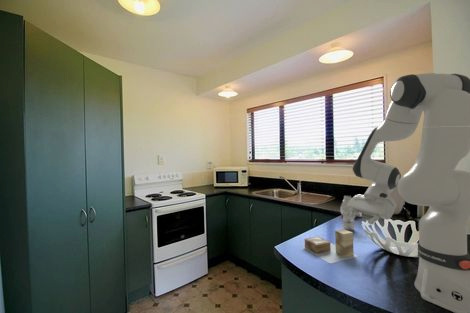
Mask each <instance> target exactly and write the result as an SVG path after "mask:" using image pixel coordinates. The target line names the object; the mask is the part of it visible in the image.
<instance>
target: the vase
mask: <svg viewBox="0 0 470 313" xmlns="http://www.w3.org/2000/svg"><path fill="white" fill-rule="evenodd" d="M397 185H398V184H397ZM389 195H390V196H391V197H392V199H393V200H394V201H395V203H396V204H397V206H396V207H395V208H394V209H395V210H394V213H393V215H398V214H400V213H401V211H402V210H403V207H404V202H405V201H404V200H403V199H402V198H401V196H400V195H399V193H398V189H397V186H396V187H395V188H394V189H393V191H391V192H390V194H389Z"/></svg>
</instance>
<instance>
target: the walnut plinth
mask: <svg viewBox="0 0 470 313" xmlns="http://www.w3.org/2000/svg"><path fill="white" fill-rule="evenodd" d="M330 243H331V242H330V241H328V239H327V240H326V239H325V238H322V237H320V236H313V237H309V238H304V246H305V248H307V249H309V250H310V251H312V252H314V253H316V254H319V253H324V252H328V251H331V248H330Z"/></svg>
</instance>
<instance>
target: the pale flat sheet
mask: <svg viewBox="0 0 470 313" xmlns="http://www.w3.org/2000/svg"><path fill="white" fill-rule="evenodd" d="M302 248H303V249H304V250H306V251H308V252H309V253H311V254H312V255H315V256H316V257H318V258H320V259H322V261H325V262H326V263H329V264H335V263H339V262H342V261H346V260H351V259H355V258H358V257H360V256H359V255H357V254H355V253H354V256H350V257H346V258H344V257H343V256H341V255H339V254H337V253H336V246H335V243H332V242H330V248H331V251H328V252H324V253H319V254H316V253H314V252H312V251H310V250H309V249H307V248H305V245H304V246H302Z"/></svg>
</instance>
